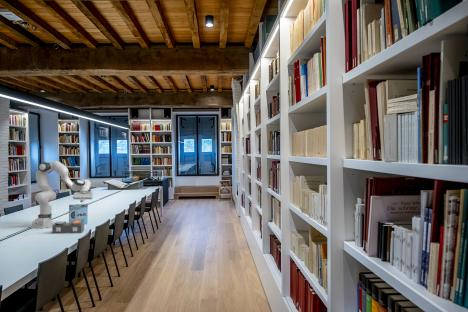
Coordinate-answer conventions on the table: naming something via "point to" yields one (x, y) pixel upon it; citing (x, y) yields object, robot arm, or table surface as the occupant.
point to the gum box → (78, 213)
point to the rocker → (76, 222)
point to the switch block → (68, 228)
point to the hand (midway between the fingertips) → (81, 201)
